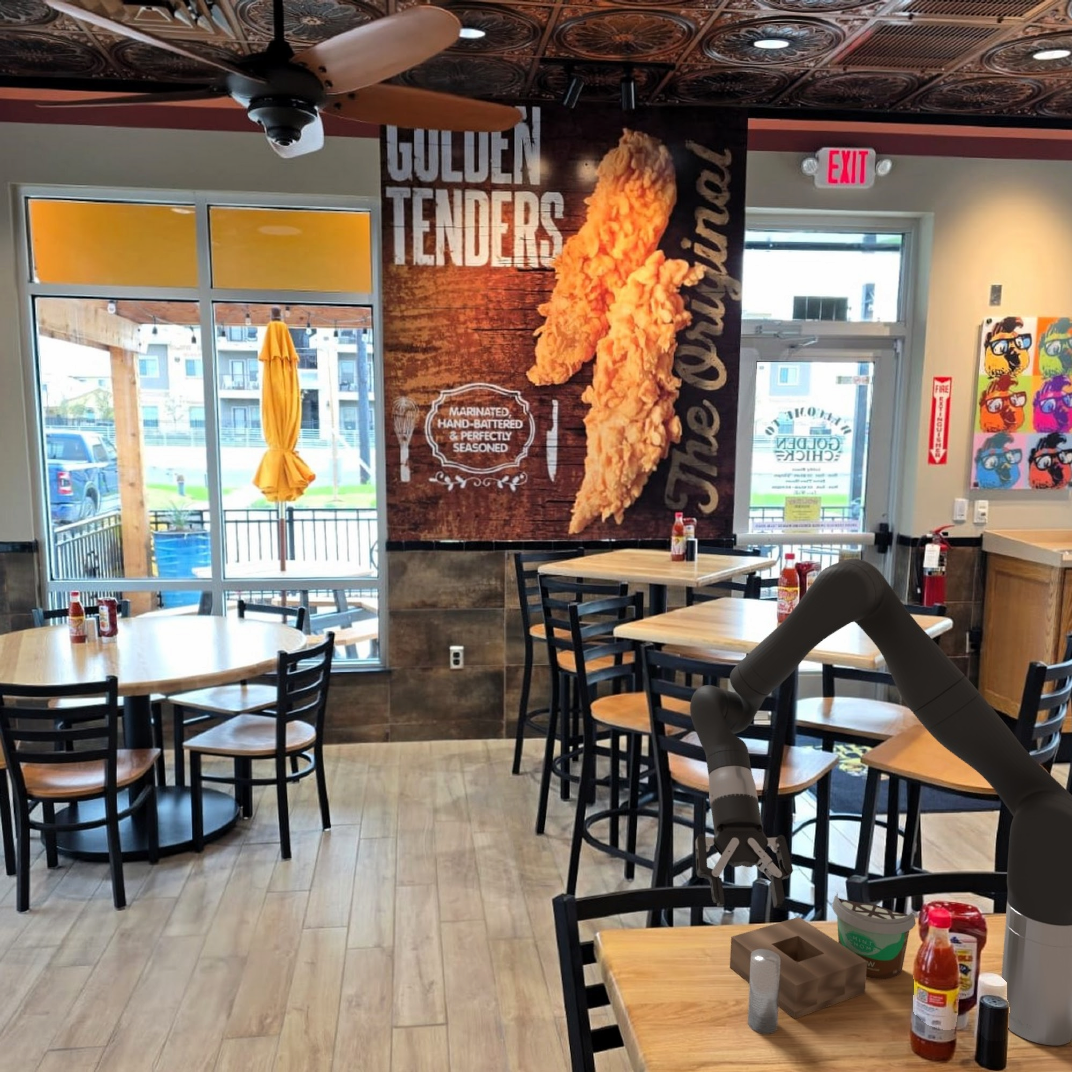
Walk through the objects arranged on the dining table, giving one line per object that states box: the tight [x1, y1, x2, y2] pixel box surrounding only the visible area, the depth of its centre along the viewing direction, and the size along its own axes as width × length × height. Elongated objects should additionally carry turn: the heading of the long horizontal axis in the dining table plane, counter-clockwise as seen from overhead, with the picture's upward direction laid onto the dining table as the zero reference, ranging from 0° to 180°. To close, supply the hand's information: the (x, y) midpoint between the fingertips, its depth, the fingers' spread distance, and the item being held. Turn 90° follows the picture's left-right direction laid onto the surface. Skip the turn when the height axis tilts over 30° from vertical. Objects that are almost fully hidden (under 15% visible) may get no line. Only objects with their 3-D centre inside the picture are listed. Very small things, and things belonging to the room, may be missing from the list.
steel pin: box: [747, 949, 780, 1035], centre depth 124 cm, size 4×4×10 cm
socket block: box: [729, 916, 867, 1020], centre depth 136 cm, size 14×14×5 cm
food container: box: [832, 892, 916, 980], centre depth 138 cm, size 12×6×10 cm, turn 62°
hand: (749, 906), depth 133 cm, fingers open, 8 cm apart
